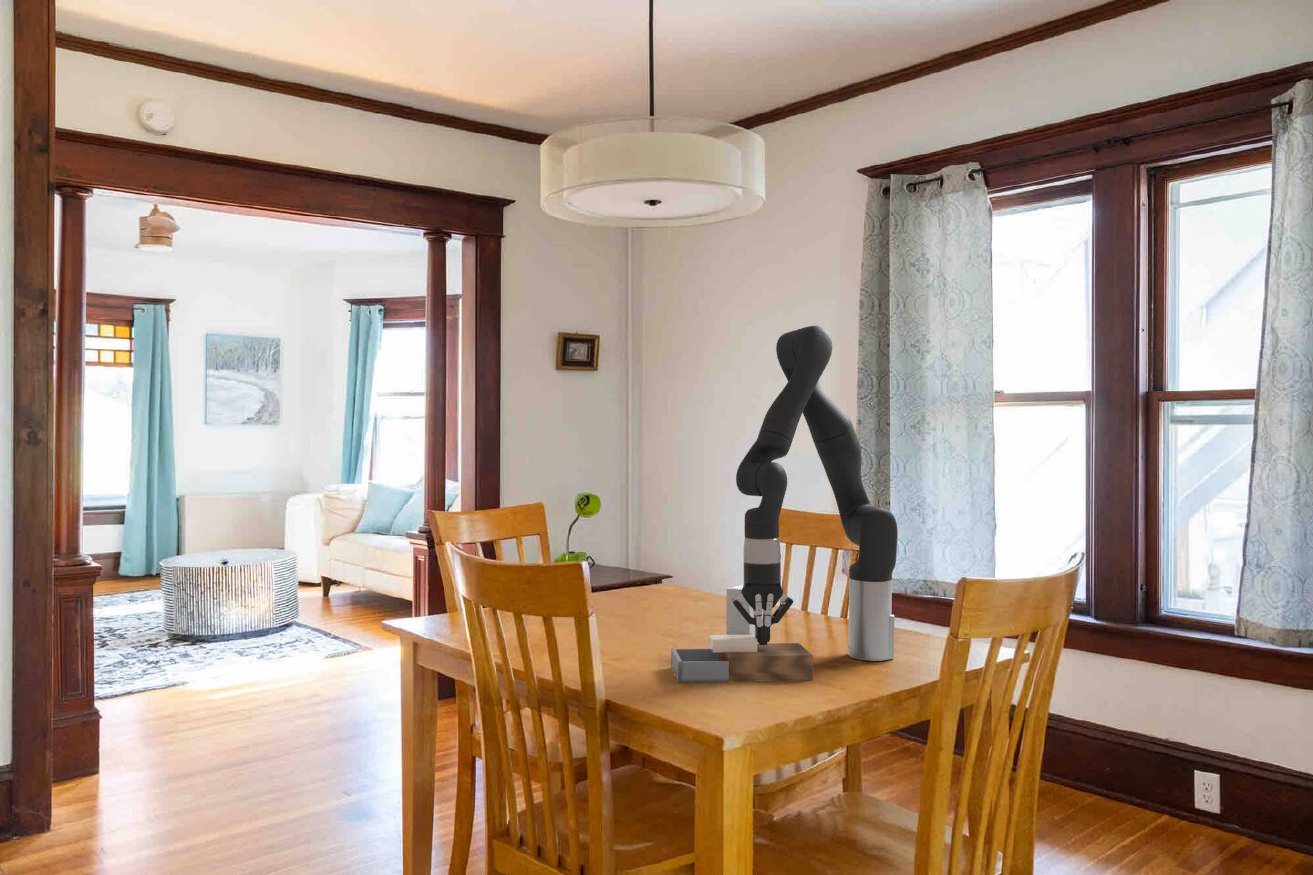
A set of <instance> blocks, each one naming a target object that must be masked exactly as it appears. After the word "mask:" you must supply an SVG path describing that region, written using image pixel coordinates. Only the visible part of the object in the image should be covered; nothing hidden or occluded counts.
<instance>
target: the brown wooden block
mask: <svg viewBox="0 0 1313 875" xmlns="http://www.w3.org/2000/svg"><path fill="white" fill-rule="evenodd" d="M813 658H814V656H813V654H812V653H811V652H810V651H809V650H808V649H806V648H805V647H804V646H803V645H802V644H801V643H799V642H793V643H792V642H784V643H783V642H782V643H781V642H778V643H777V642H775V643H774V642H773V643H771V642H767V645H759V643H757V652H719V661H729V682H731V683H732V682H785V681H787V682H790V681H792V682H794V681H796V682H797V681H798V682H799V681H813V669H814V668H813V667H814V666H813V662H814V661H813V660H814V659H813ZM729 682H728V683H729Z"/></svg>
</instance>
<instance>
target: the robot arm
mask: <svg viewBox="0 0 1313 875" xmlns="http://www.w3.org/2000/svg"><path fill="white" fill-rule="evenodd" d="M775 351H776V358H777V361H778V363H779V366H780V368H781V370H782V372H783V374H784V376H785V378H786V380H787V383H786V384H785V386H784V387H783V389H782V390H781V391H780V393H779V394H778V395H777V396H776V398H775V399H774V400H773V402H772V404H771V405H770V406H769V408H768V410H767V412H766V414H765V416H764V419H763V422H762V423H761V427H760V430H759V433H758V435H757V439H756V440H755V441H754V443H753V444H752V446H751V447H750V448H749V449H748V451H747V453H746V454H745V456H744V458H743V459H742V460H741V461H740V464H739V466H738V468H737V470H736V475H735V483H736V486H737V489H738V491H739V492H740V493H741V494H743V495H746V496H751V497H761V500H760V504H759V505H758V506H757V507H753V508H752V507H751V508H749V509H747V510H746V511H745V514H744V540H743V541H744V542H743V585H744V586H743V588H742V590H741V594H740V595H739V596H738V597H737V598H733V599H732V603H733V605H734V606H735V607H736V608H737V610H738V611H739V612H740V613H741V615H742V616H743V617H744V618H745V620H746V621H747V622H748V623H749V624H753V625H755V637H756V638H757V642H758V643H759V645H767V643H771V626H772V625H774V624H778V623H779V622H781V620H782V619H783V617H784V616H785V615H786V613H787V612H788V611H789V609H790V608H791V607H792V605H793V604H794V599H793V598H791V597H790V596H787V595H786V594H785V593H784V589H783V587H782V585H781V583H782V581H781V580H782V576H781V572H782V570H781V568H782V567H781V566H782V562H781V560H782V554H781V544H780V516H781V512H782V507H783V504H784V500H785V495H786V492H787V487H788V476H787V472H786V470H785V468H784V466H783V465H782V464H780V463H779V462H775V460H778V459H781V458H784V457H786V456H787V455H788V453H789V451H790V449H791V447H792V444H793V440H794V438H795V437H794V436H795V433H796V431H797V428H798V425H799V422H800V420H801V417H802V415H803V417H804V420H805V422H806V425H807V426H808V429H809V433H810V435H811V439H812V441H813V445H814V447H815V450H816V452H817V455H818V458H819V459H820V461H821V464H822V467H823V469H824V472H825V475H826V477H827V480H828V481H829V482H828V483H829V485H830V487H831V490H832V492H833V495H834V498H835V502H836V505H837V508H838V513H839V517H840V521H841V525H842V529H843V532H844V533H845V536H846V537H847V538H848V540H849V541H850V542H851V543H853V544H854V545H857V546H858V558H857V560H856V561H855V562H854V563H851V565H850V566H849V570H848V571H849V572H848V575H849V576H848V577H849V578H848V633H847V635H848V640H847V641H848V644H847V650H848V651H847V653H848V655H847V656H849V658H852V659H855V660H861V661H869V662H879V661H880V662H882V661H887V660H894V659H895V619H896V618H895V615H894V614H892V603H893V602H892V599H893V596H892V595H893V594H892V593H893V592H892V591H893V572H894V571H895V570H894V569H895V568H896V564H897V553H898V533H899V532H898V523H897V520H896V517H895V515H894V514H893V513H892V512H891V511H890V510H889V509H886V508H884V507H880V506H879V507H878V506H875V505H874V506H873V504H872V503H871V501H870V499H869V497H868V494H867V492H866V490H865V486H864V484H863V479H862V449H861V448H862V447H861V444H860V441H859V438H858V435H857V432H856V429H855V427H854V424H853V422H852V420H851V418H850V416H849V415H848V413H846V412H845V410H843V408H842V407H841V406H840V405H839V404H838V403H836V401H835V400H833V399H832V397H830V395H829V394H828V393H827V392H826V391H825V390H824V389H823V387H822V386H821V383H820V378H821V376H822V375H823V373H824V371H825V369H826V368H827V365H828V364H829V361H830V360H831V356H832V354H833V340H832V337H831V336H830V334H829V332H828V330H826V329H825V328H824V327H822V326H819V325H810V326H805V327H801V328H798V329H796V330H791V331H788V332H786V333H782V334H781V335H780V336H779V337H778V340H777V341H776V346H775ZM744 598H745V600H746V601H747V602H748V604H749V605H750V606H751V607H752V608H753V613H754V618H753V617H751V616H750V615H749V613H748V612H747V611H746V610H745V608H744V607H743V606H744V605H745V602H744ZM778 602H779V606H778V607H777V608H776V609H775V611H774V613H773V609H774V608H775V606H776V605H777V603H778ZM762 609H763V620H762ZM762 622H763V623H762Z"/></svg>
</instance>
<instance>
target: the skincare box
mask: <svg viewBox="0 0 1313 875" xmlns="http://www.w3.org/2000/svg"><path fill="white" fill-rule="evenodd" d="M743 586H744V584H740V585H736V586H735V585H734V586H732V587H731V586H730V587H727V588H726V595H725V596H726V598H725V599H726V600H725V602H726V604H725V605H726V606H725V607H726V613H725V614H726V615H725V617H726V620H725V622H726V626H725V628H726V629H725V630H726V631H725V632H726V633H725V635H754V636H755V625H753V624H749V623H748V622H747V621H746V620H745V618H744V617H743V616H742V615H741V613H740V612H739V611H738V610H737V608H736V607H735V606H734V605H733V603H732V599H733V598H737V597H738V596H739V595H740V594H741V590H742V588H743ZM744 602H745V605H744V606H743V607H744V608H745V610H746V611H747V612H748V613H749V615H750V616H751V617H753V618H754V613H753V608H752V607H751V606H750V605H749V604H748V602H747V601H746V600H745V598H744ZM762 620H763V609H762ZM762 623H763V622H762ZM757 643H758V642H757Z"/></svg>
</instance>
